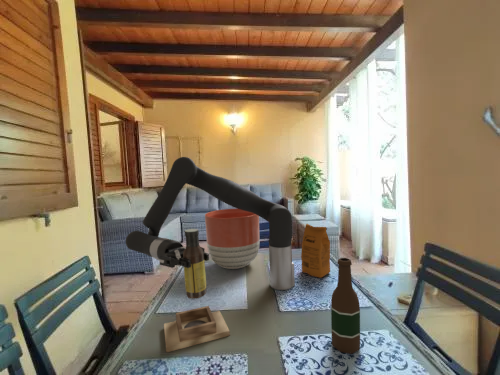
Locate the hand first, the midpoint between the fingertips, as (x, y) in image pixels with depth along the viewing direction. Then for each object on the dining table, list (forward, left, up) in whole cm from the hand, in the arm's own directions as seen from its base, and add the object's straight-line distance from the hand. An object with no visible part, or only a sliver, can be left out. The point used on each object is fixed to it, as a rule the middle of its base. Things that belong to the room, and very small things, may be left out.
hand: (199, 260), depth 79 cm
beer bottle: (-35, +21, -23) cm, 47 cm away
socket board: (+2, -2, -23) cm, 23 cm away
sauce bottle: (+1, -2, -11) cm, 11 cm away
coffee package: (-56, -24, -23) cm, 65 cm away
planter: (-25, -49, -23) cm, 60 cm away
